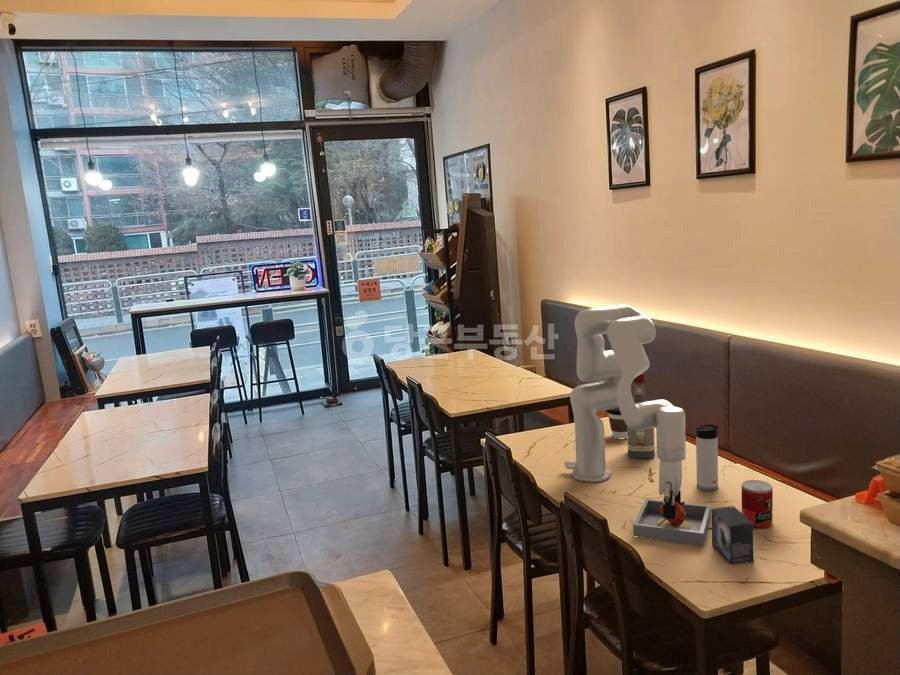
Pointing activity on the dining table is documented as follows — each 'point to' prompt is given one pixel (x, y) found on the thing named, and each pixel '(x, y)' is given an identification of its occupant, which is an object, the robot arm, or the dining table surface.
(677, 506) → the pomegranate
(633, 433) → the liquor
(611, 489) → the dining table surface
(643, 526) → the walled pen
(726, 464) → the dining table surface
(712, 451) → the travel mug
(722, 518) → the small box
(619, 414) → the coffee cup
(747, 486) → the canned food
